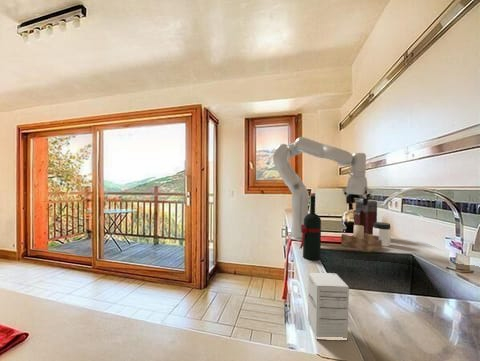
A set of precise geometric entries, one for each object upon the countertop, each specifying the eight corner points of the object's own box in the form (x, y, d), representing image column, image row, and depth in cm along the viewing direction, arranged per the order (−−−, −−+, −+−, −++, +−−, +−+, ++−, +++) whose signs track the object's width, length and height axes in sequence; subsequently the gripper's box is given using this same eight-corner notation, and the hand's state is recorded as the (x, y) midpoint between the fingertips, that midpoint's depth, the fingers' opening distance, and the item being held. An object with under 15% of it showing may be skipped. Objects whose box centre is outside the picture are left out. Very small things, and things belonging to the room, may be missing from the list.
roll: (351, 245, 129) (352, 225, 128) (356, 243, 132) (356, 224, 131) (360, 247, 125) (361, 226, 124) (365, 246, 127) (365, 225, 127)
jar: (387, 247, 125) (388, 225, 125) (371, 244, 131) (371, 223, 131) (391, 244, 131) (392, 223, 131) (375, 241, 137) (376, 221, 137)
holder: (341, 244, 129) (341, 234, 129) (354, 241, 137) (354, 231, 137) (369, 252, 117) (369, 240, 116) (381, 247, 125) (381, 236, 125)
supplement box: (307, 320, 59) (307, 271, 59) (336, 321, 59) (337, 272, 59) (315, 340, 52) (316, 285, 52) (348, 342, 52) (350, 286, 52)
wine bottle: (295, 256, 109) (296, 192, 108) (313, 254, 112) (314, 192, 112) (304, 262, 101) (306, 193, 101) (324, 259, 104) (325, 193, 104)
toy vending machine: (351, 236, 150) (352, 193, 150) (364, 234, 154) (365, 192, 154) (364, 239, 142) (365, 194, 141) (376, 237, 146) (377, 193, 146)
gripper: (340, 174, 137) (338, 203, 137) (369, 174, 122) (368, 206, 123) (347, 174, 141) (346, 202, 141) (376, 175, 127) (375, 206, 127)
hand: (356, 204), depth 132 cm, fingers open, 9 cm apart
